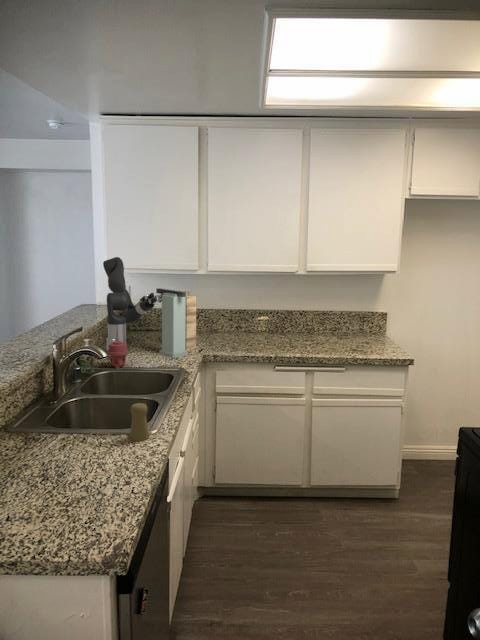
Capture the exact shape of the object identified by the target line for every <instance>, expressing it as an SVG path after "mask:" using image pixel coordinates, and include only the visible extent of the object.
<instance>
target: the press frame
mask: <svg viewBox="0 0 480 640" xmlns="http://www.w3.org/2000/svg"><path fill="white" fill-rule="evenodd" d="M185 309H186V297H178V296H177V295H176V294H170V293H163V295H162V302H161V349H159V351H158V352H159V353H158V354H159V355H162V356H166V357H169V358H172V359H174V358H180V357H184V356H185V357H186V356H188V355H189V350H185Z"/></svg>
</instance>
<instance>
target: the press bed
mask: <svg viewBox="0 0 480 640" xmlns="http://www.w3.org/2000/svg"><path fill="white" fill-rule="evenodd" d="M190 349H191V350H195V349H197V296H196V295H190V294H186V309H185V351H191V350H190Z"/></svg>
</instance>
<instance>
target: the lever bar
mask: <svg viewBox="0 0 480 640" xmlns="http://www.w3.org/2000/svg"><path fill="white" fill-rule="evenodd" d="M163 293H170V294H176V295H177V296H178V297H186V295H187V292H186V291H181V290H174V289H169V288H168V289H167V288H161V287H160V288H159V287H158V288H156V293H155V294H158V295H161V294H163Z"/></svg>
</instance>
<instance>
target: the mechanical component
mask: <svg viewBox="0 0 480 640" xmlns="http://www.w3.org/2000/svg"><path fill="white" fill-rule="evenodd" d="M127 346H128V345H127V342H126V343H123V342H121V341H115V342H113V343H110V344H109V350H108V351H107V350H106V355H107V354H108V355H110V356H109V357H110V358H109V359H110V365H111V366H112V367H113V366H114V368H115V369H116V368H119V369H120V367H121V368H124V367H123V366H125V367H126V361H127V360H126V356H127V355H129V349H128V347H127ZM125 355H126V356H125Z"/></svg>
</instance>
